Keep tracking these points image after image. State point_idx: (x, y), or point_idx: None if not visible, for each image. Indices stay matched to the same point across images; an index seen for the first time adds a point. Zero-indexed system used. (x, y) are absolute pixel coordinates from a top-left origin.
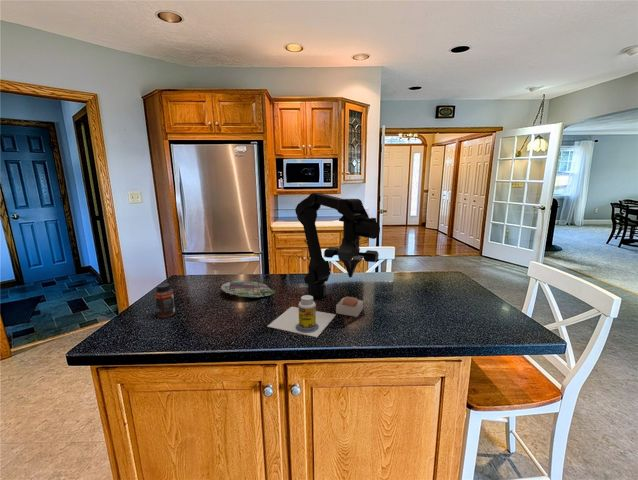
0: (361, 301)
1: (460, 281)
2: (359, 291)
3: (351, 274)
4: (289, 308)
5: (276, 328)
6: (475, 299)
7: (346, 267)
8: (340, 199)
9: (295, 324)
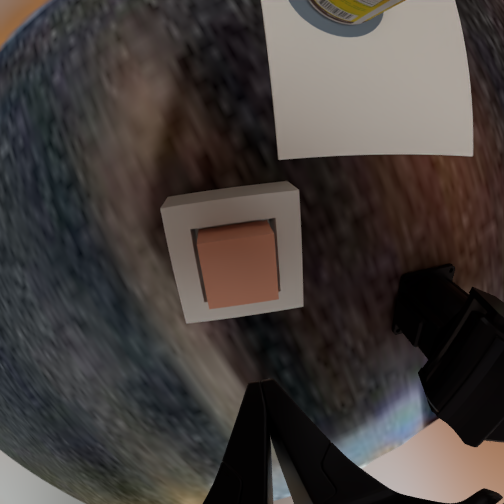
0: (190, 311)
1: (88, 499)
2: None
3: (246, 406)
4: (472, 136)
5: None
6: (10, 442)
7: (333, 460)
8: None
9: None
